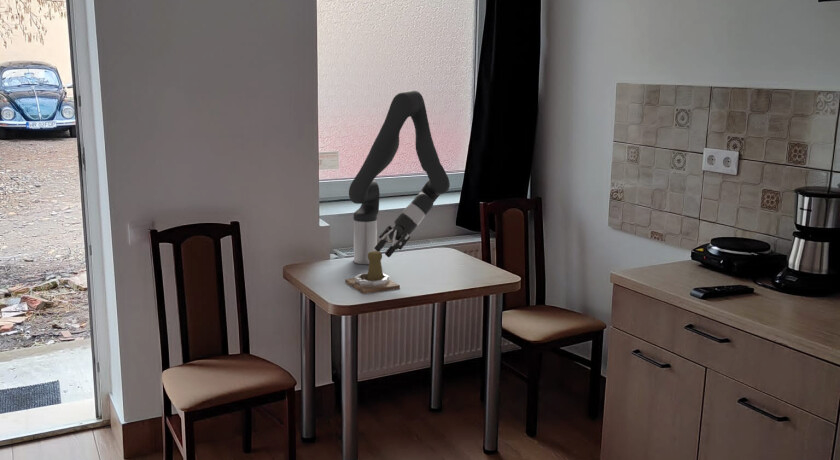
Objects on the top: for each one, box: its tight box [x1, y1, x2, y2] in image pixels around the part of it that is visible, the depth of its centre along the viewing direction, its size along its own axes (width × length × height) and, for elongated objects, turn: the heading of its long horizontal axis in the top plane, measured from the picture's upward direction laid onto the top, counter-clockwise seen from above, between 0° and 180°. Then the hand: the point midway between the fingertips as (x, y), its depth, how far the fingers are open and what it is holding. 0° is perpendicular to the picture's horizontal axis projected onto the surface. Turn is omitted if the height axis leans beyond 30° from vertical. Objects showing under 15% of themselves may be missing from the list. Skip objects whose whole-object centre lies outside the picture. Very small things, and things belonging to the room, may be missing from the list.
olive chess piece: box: [367, 251, 384, 281], centre depth 278 cm, size 6×6×11 cm
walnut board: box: [344, 277, 401, 295], centre depth 278 cm, size 16×14×1 cm
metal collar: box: [354, 272, 390, 287], centre depth 278 cm, size 11×11×2 cm
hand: (381, 252), depth 278 cm, fingers open, 8 cm apart
